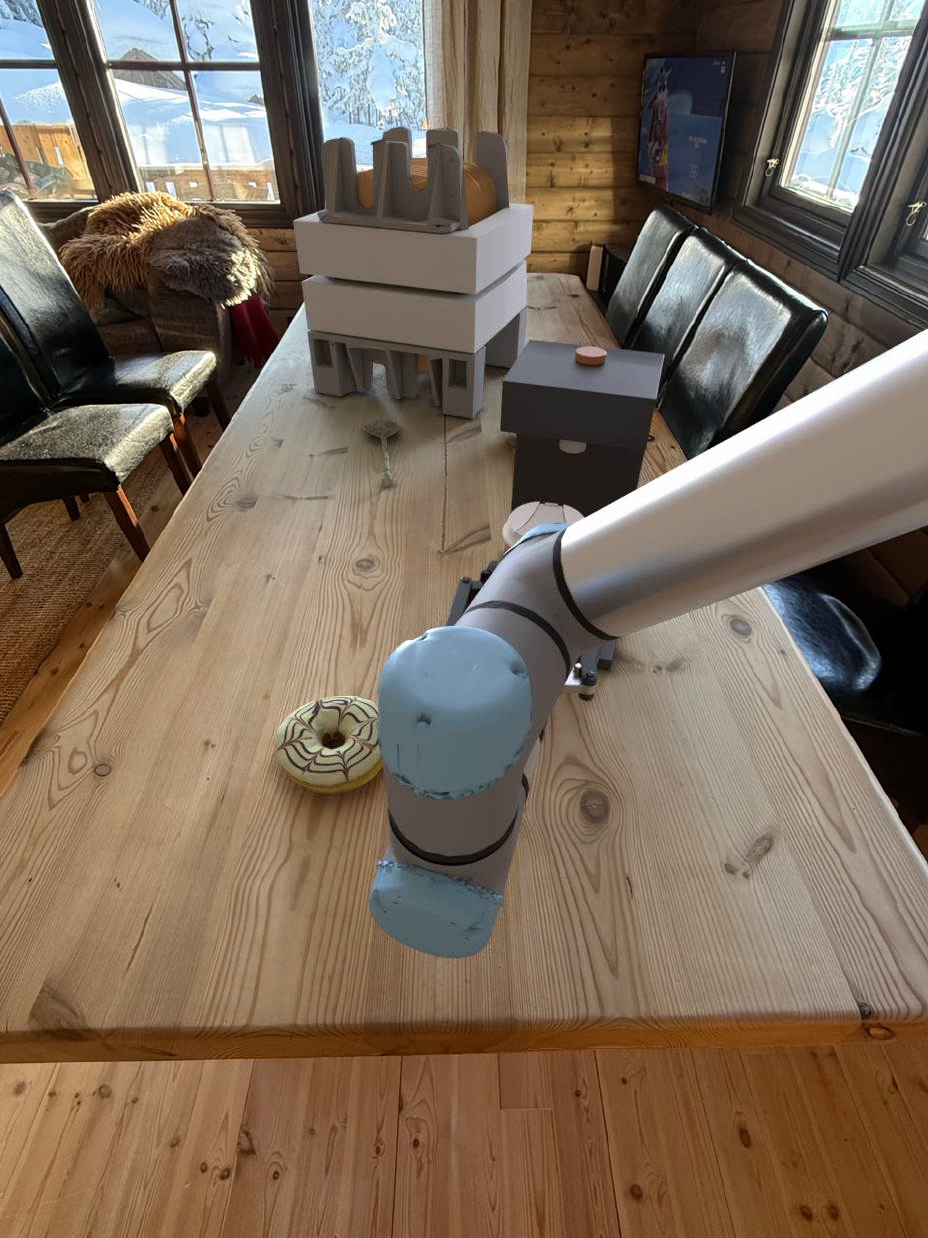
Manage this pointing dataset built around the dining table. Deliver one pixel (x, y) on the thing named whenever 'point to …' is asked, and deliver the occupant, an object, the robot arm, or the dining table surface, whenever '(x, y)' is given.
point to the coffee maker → (579, 426)
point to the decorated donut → (321, 765)
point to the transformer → (415, 268)
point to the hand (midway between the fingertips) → (549, 555)
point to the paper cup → (536, 519)
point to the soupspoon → (383, 441)
